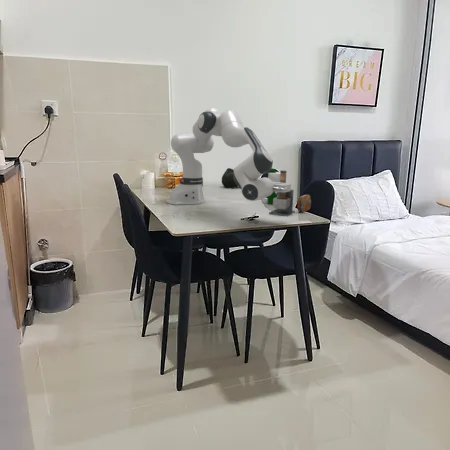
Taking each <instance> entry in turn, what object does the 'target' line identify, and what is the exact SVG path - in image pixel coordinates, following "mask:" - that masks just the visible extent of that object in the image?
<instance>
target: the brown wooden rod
mask: <svg viewBox="0 0 450 450" xmlns="http://www.w3.org/2000/svg"><path fill="white" fill-rule="evenodd" d="M279 172H280V182H281V183H287V170H280V171H279ZM279 199H285V192H279Z"/></svg>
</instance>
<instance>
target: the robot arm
mask: <svg viewBox="0 0 450 450" xmlns="http://www.w3.org/2000/svg"><path fill="white" fill-rule="evenodd" d="M212 136H216V137H221V139H222V140H223V142H224V144H226V145H227V146H228V147H229V148H230V147H231V148H241V147H243V146H246V145H249V146H250V148H251V150H252V153H251V154H250V156H248V157H247V158H246V159H245V160H243V161H241V162H239V164H238V165H236V166H235V167H234V168H233V179H234V181H235V183H236V184H237V186H238V187H237V188H239V189H240V190H241V194H242V196H243V198H244V199H246V200H248V201H251V202H255V201H259V200H262V199H265V198H267V197H268V196H270V195H271V194H272V193H273V192H289V191H291V190H292V183H290V182H286V183H281V182H272V181H271V180H270V179H269V178H268V177H262V176H263V175H265V174H268V172H269V171H270V170H271V169H273V162H274V161H273V159H272V156H271V154H269V153H268V152H267V150H266V149H265V147H264V145H263V144H262V143H261V141H260V139H259V138H258V137H257V135H256V134H255V132H254V131H253V130H252V129H250V128H249V127H248V126H247V127H244V125H243V122H242V120H241V118H240V116H239V114H238V113H237V112H236V111H235V110H232V109H228V110H225V111H220V109H218V108H217V107H209V108H207V109H206V110H205V111H203V112H201V113H200V114H199V117H198V118H197V120H196V121H195V123H194V124H193V126H192V133H188V132H187V133H185V132H184V133H176V134H174V135H173V136H172V138H171V140H170V147H171V149H172V150H173V152H175V153H176V154H177V156H178V157H179V159H180V161H181V164H182V166H181V167H182V177H177V178H176V180H177V182H179V184H178V185H177V186H176V187H174V188H173V189H172V190H171V191H170V192H169V193H170V194H169V198H166V200H165V202H166V203H167V204H169V205H175V206H176V205H177V206H179V205H200V204H202V203H204V202H206V200H205V197H204V191H203V186H204V181H203V180H204V179H203V165H202V162H201V161H199V160H198V159H197V158H195V155H194V154H204V153H208V152H211V151H213V148H214V139H213V137H212Z"/></svg>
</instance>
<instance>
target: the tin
mask: <svg viewBox="0 0 450 450" xmlns="http://www.w3.org/2000/svg"><path fill="white" fill-rule="evenodd" d="M296 205H297V212H299V213H305V212H308V211H309V210H310V209H311V206H312V197H311V195H310V194H304V195H301V196H299V197H298V199H297V201H296Z"/></svg>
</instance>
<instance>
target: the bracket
mask: <svg viewBox="0 0 450 450" xmlns="http://www.w3.org/2000/svg"><path fill="white" fill-rule="evenodd" d="M294 191H295V190H294V189H291V191H289V192H285V199H279V192H278V197H276V198H274V199H273V204H272V207H273V208H274V210H272V211H269V212H268V214H269V215H274V216H283V217H289V216H291V215H292V214H294V213H296V211H295V210H293V208H294V207H293V205H294Z"/></svg>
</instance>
